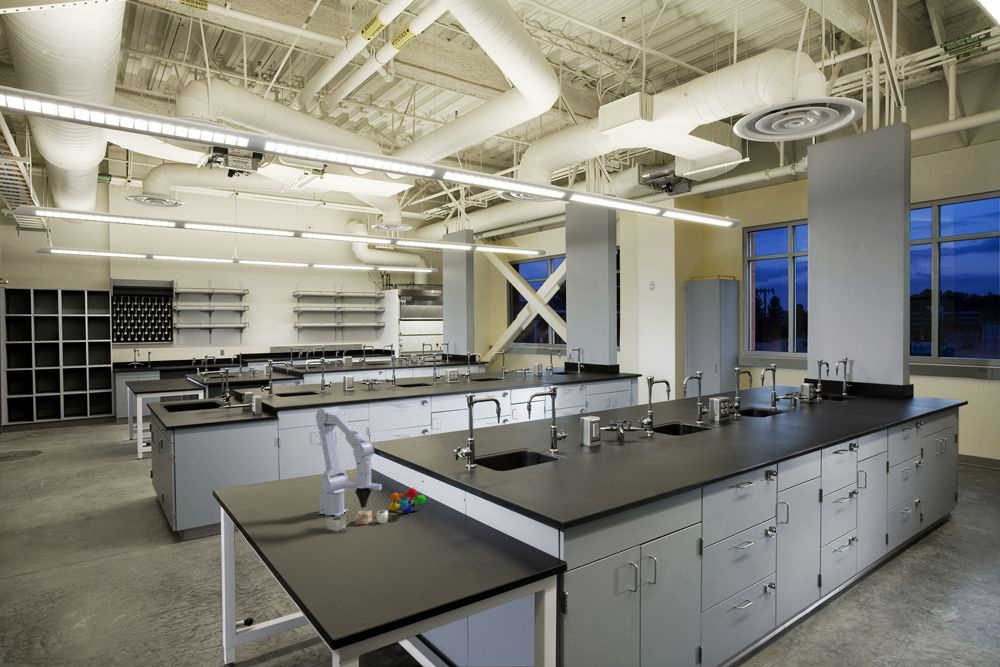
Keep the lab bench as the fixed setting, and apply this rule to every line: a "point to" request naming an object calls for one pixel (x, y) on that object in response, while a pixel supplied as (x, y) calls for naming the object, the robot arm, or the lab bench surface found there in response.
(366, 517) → the beech block
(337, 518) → the grey labelled block
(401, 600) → the lab bench surface
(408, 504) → the molecular model
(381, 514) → the offwhite stopper
